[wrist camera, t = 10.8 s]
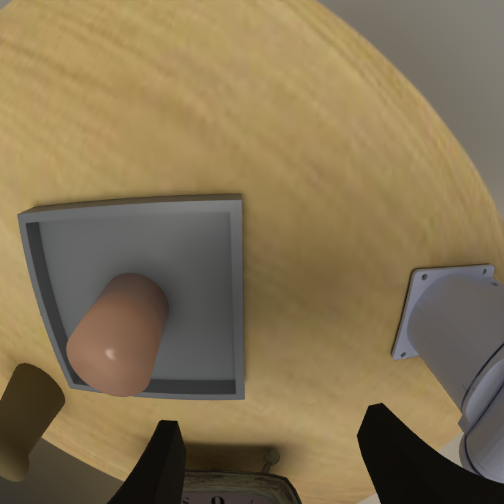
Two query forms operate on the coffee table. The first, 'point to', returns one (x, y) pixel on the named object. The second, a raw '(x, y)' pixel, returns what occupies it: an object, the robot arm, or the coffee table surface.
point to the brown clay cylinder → (120, 336)
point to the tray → (156, 269)
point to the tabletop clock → (239, 486)
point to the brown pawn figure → (25, 417)
